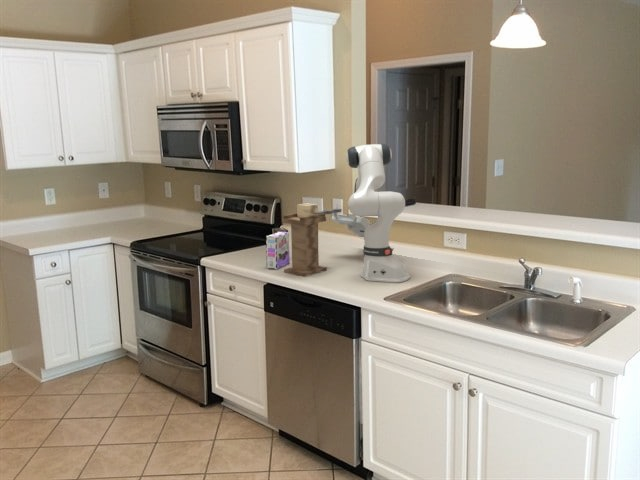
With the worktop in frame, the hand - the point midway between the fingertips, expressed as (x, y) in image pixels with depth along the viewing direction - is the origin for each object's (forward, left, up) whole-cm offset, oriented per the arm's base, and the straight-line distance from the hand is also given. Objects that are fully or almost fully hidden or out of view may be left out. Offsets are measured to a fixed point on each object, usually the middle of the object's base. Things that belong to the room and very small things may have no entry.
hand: (341, 214), depth 298 cm
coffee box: (+31, +9, -25) cm, 41 cm away
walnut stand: (+5, +26, -24) cm, 36 cm away
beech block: (+3, +14, +2) cm, 14 cm away
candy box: (+23, +23, -25) cm, 41 cm away
